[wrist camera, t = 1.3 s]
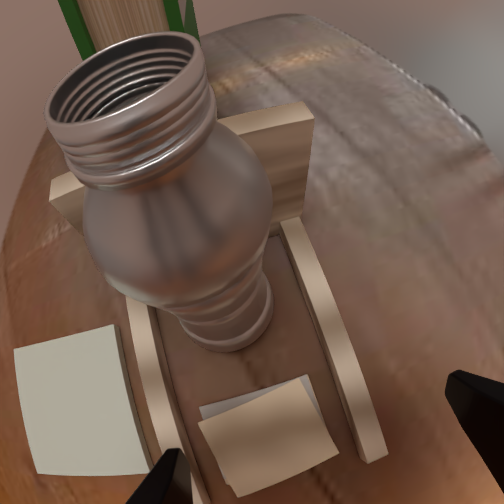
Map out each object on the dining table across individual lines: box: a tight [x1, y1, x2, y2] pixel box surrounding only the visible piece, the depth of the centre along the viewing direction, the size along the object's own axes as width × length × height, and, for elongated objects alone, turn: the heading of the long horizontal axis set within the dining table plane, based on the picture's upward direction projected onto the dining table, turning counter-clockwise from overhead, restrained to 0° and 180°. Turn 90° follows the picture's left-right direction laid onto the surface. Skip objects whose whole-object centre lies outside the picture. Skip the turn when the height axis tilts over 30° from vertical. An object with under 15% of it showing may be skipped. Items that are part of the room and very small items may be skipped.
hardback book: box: [58, 0, 201, 61], centre depth 22 cm, size 18×7×24 cm, turn 8°
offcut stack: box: [198, 374, 339, 498], centre depth 18 cm, size 7×8×3 cm
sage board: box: [14, 324, 154, 476], centre depth 20 cm, size 12×12×1 cm
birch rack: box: [49, 101, 388, 504], centre depth 16 cm, size 21×15×12 cm
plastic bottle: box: [43, 31, 274, 352], centre depth 14 cm, size 6×7×20 cm
